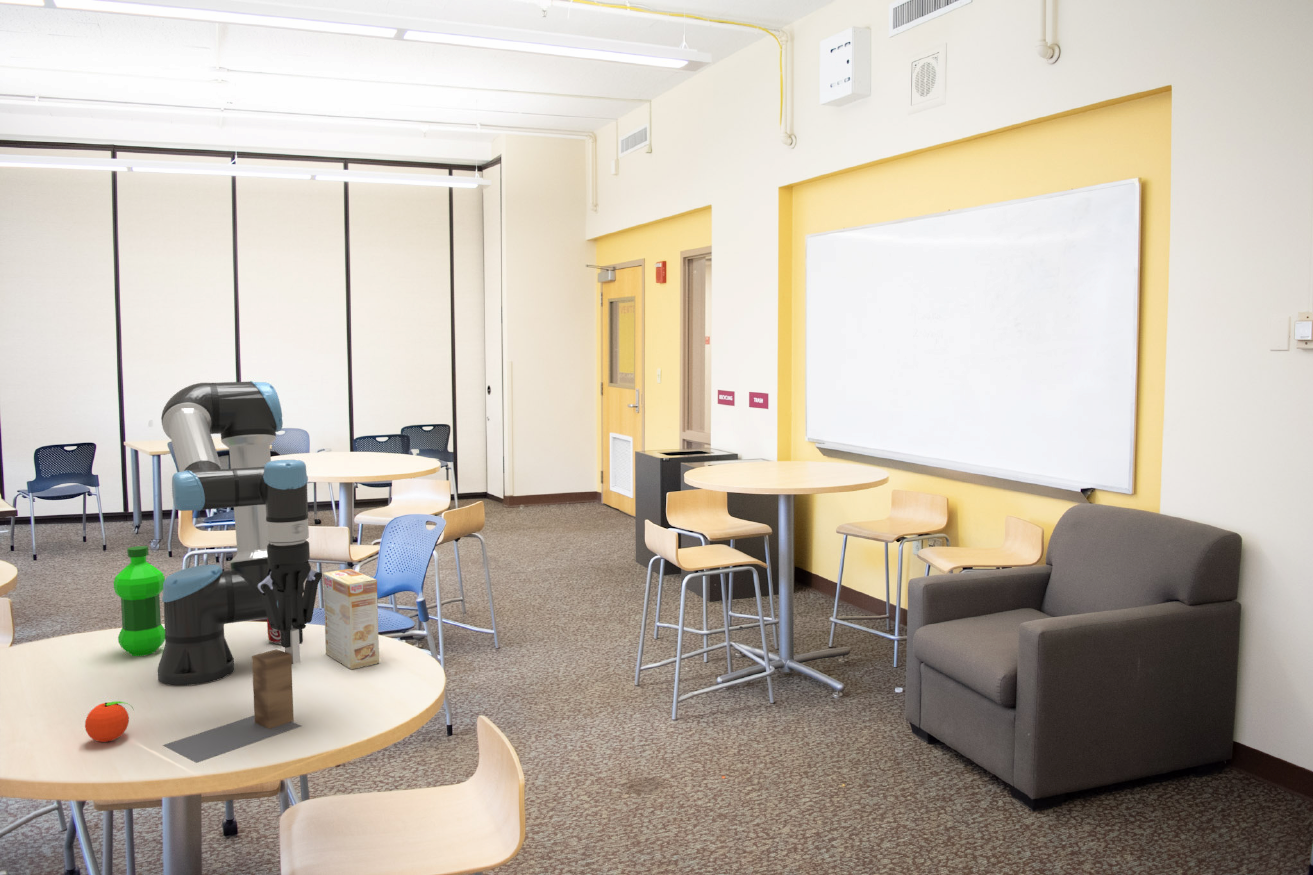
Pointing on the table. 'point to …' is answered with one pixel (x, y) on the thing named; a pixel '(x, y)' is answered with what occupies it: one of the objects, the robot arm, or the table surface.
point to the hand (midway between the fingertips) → (292, 661)
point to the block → (272, 688)
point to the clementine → (107, 721)
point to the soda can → (274, 634)
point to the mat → (225, 739)
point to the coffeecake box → (351, 618)
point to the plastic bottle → (140, 604)
